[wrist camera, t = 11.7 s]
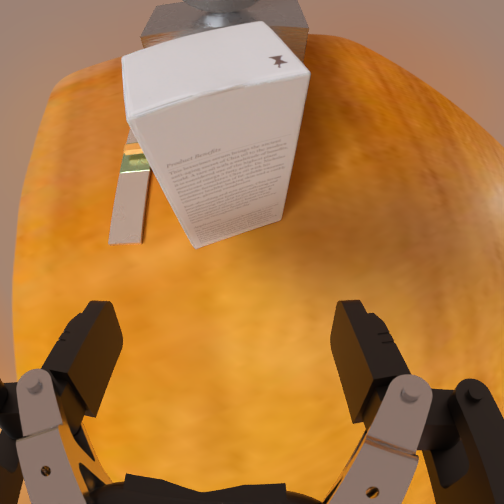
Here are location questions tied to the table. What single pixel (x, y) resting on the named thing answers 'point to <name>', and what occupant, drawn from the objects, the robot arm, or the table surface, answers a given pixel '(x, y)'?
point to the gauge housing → (179, 25)
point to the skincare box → (218, 125)
